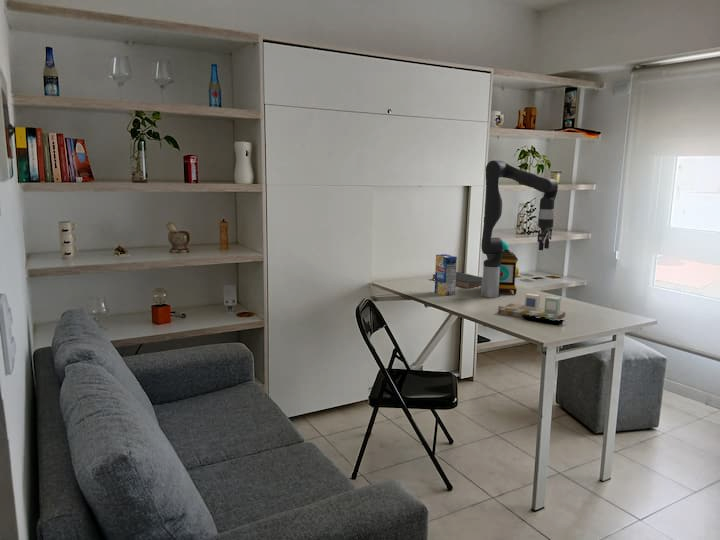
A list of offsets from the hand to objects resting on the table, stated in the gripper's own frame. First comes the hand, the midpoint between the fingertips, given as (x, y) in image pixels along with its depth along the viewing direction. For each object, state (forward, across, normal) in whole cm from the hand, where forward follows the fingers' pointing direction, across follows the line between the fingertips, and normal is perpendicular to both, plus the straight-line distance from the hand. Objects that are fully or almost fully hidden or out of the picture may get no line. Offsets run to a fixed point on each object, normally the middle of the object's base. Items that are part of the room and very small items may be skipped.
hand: (543, 249), depth 289 cm
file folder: (+31, +33, +60) cm, 75 cm away
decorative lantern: (+30, +21, +31) cm, 48 cm away
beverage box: (+30, -6, +53) cm, 61 cm away
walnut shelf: (+30, -21, -3) cm, 37 cm away
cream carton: (+28, -21, -3) cm, 35 cm away
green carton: (+28, -21, -13) cm, 37 cm away
